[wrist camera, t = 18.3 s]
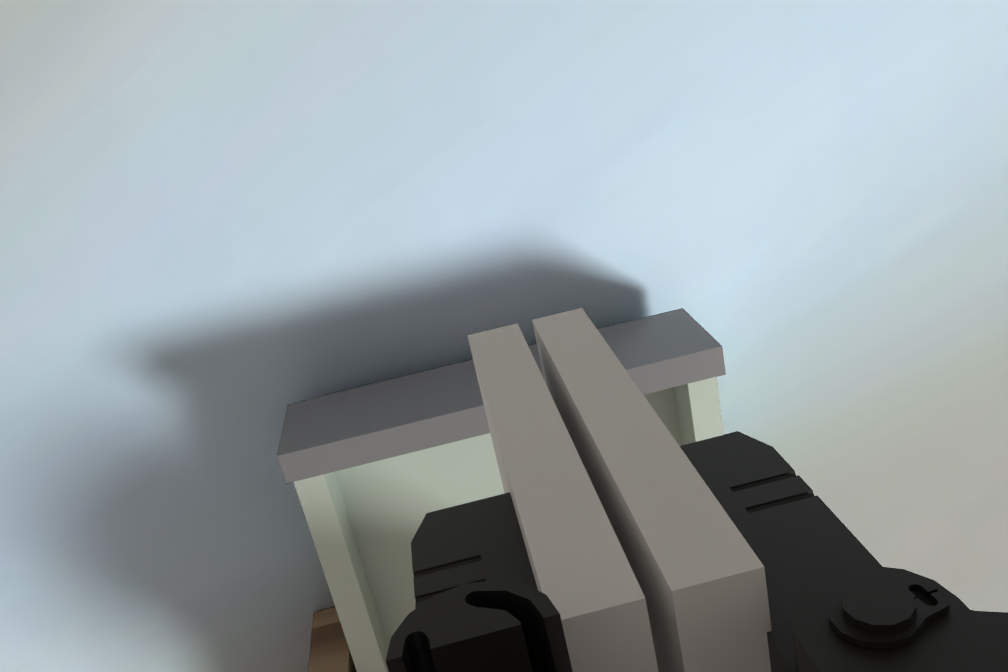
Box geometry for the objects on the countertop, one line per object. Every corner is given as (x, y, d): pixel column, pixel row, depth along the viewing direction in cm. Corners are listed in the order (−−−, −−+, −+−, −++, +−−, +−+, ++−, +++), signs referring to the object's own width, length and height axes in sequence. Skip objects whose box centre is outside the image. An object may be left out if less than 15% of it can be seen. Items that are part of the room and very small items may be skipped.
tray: (287, 404, 31) (276, 456, 28) (682, 308, 32) (722, 346, 28) (413, 792, 38) (418, 875, 34) (737, 704, 39) (775, 776, 35)
